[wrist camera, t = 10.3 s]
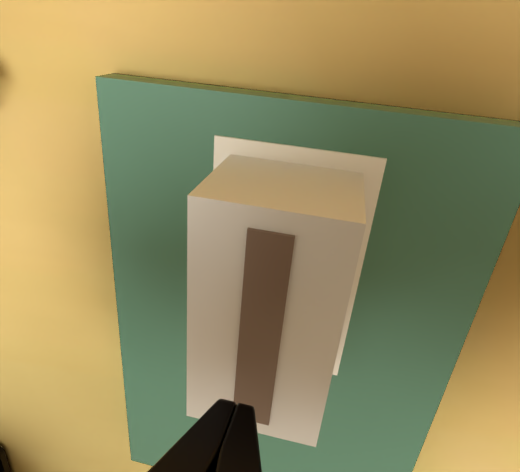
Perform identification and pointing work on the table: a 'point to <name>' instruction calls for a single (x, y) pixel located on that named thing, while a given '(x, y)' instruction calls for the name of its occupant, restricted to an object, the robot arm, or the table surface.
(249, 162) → the block
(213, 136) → the board
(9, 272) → the table surface
